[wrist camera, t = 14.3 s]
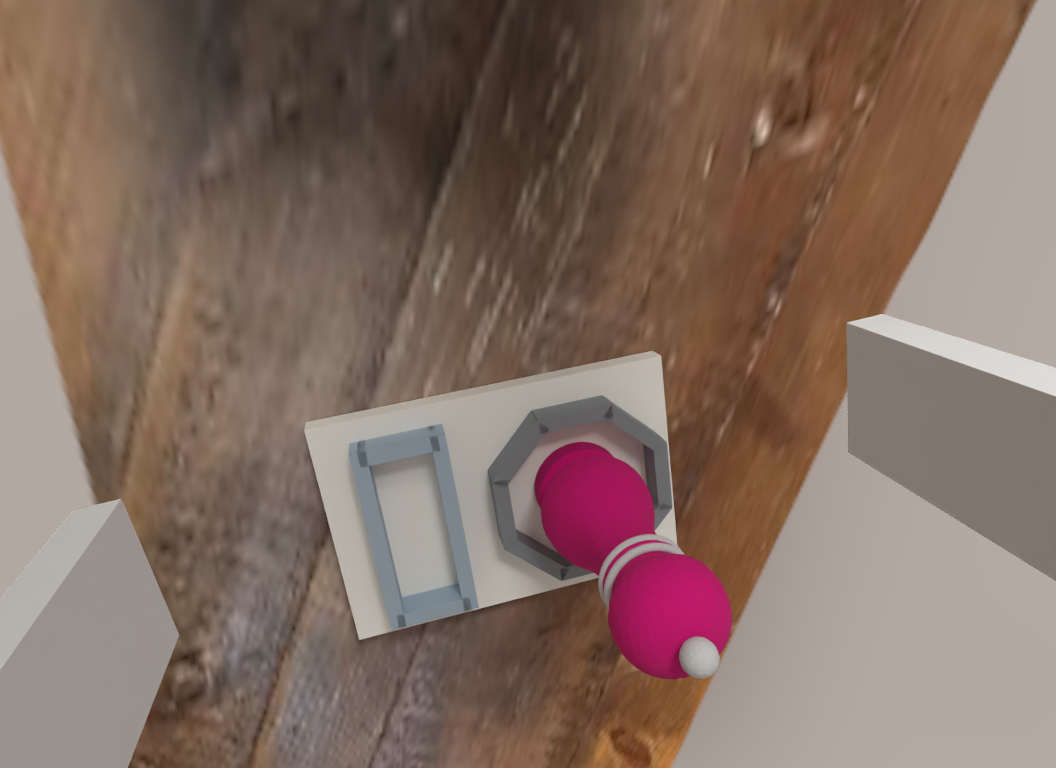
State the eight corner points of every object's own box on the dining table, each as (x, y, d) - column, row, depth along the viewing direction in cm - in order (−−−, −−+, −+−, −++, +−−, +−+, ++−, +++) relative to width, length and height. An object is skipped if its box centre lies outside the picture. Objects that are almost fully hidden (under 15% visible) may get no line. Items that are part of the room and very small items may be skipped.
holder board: (305, 422, 45) (301, 441, 42) (652, 350, 49) (673, 363, 46) (359, 627, 50) (359, 658, 47) (670, 547, 54) (689, 571, 51)
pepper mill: (615, 421, 49) (773, 575, 30) (633, 510, 51) (790, 705, 32) (516, 452, 48) (615, 631, 29) (539, 541, 50) (645, 761, 31)
